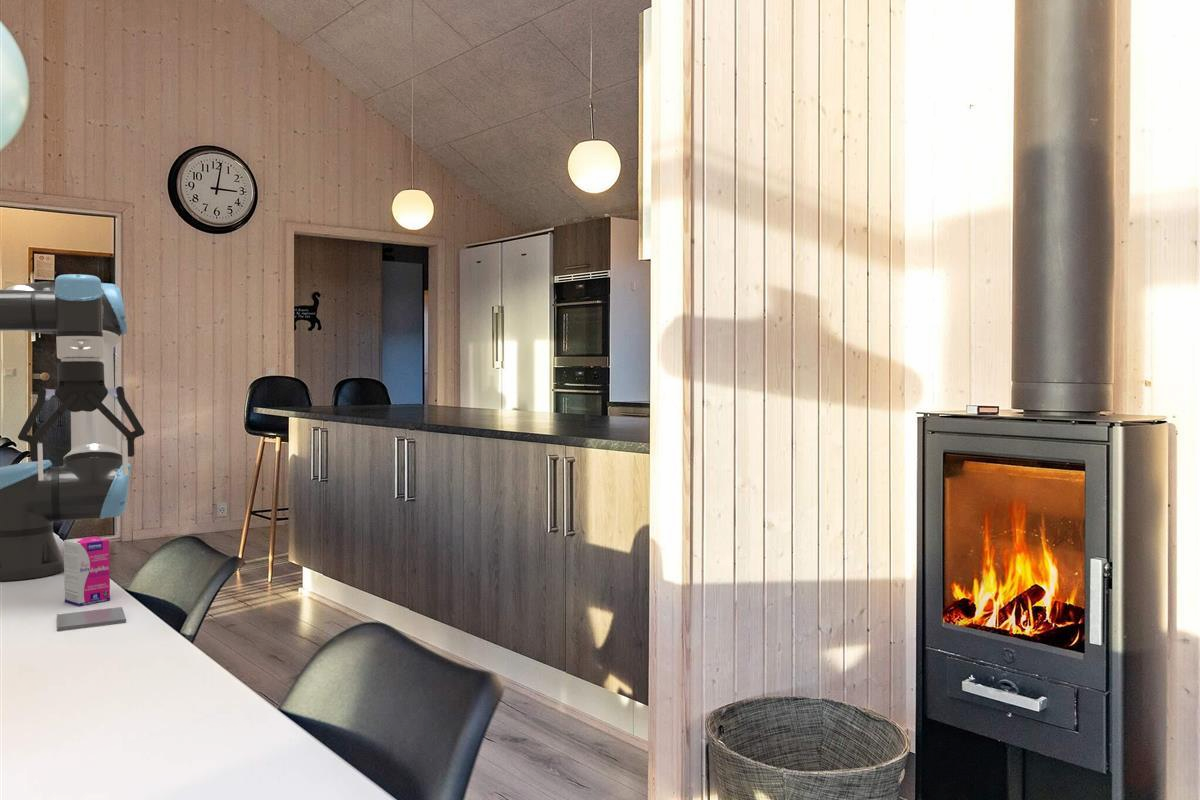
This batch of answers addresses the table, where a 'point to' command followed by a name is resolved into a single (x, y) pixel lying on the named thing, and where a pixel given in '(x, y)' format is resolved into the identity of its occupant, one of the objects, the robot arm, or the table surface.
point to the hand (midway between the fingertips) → (84, 477)
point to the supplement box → (86, 570)
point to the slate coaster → (90, 618)
